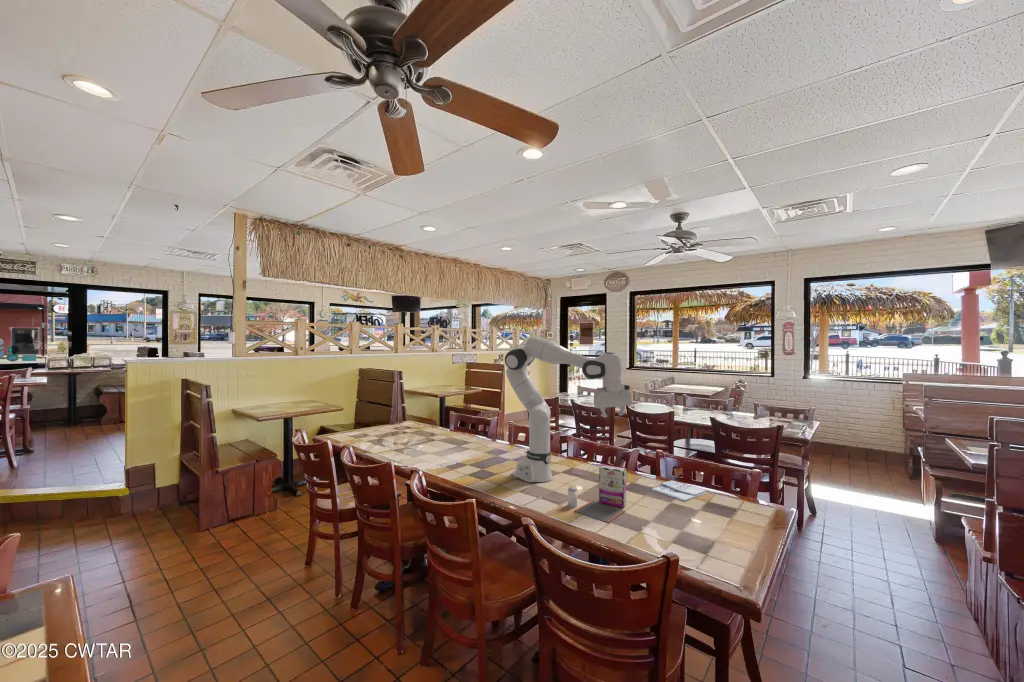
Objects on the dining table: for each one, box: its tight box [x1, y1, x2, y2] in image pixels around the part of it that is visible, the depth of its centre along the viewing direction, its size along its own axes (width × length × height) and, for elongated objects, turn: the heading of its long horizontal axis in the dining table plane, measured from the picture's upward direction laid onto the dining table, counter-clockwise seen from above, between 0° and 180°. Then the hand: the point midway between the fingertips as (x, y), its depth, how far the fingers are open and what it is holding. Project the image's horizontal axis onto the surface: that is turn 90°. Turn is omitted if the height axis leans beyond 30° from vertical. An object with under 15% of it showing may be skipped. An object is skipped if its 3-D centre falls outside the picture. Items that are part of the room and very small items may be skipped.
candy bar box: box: [598, 464, 627, 509], centre depth 181 cm, size 11×5×16 cm, turn 61°
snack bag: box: [650, 480, 708, 503], centre depth 198 cm, size 19×20×2 cm
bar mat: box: [574, 500, 626, 524], centre depth 173 cm, size 16×15×1 cm
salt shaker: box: [567, 486, 578, 509], centre depth 179 cm, size 4×4×8 cm
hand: (612, 416), depth 190 cm, fingers open, 8 cm apart
